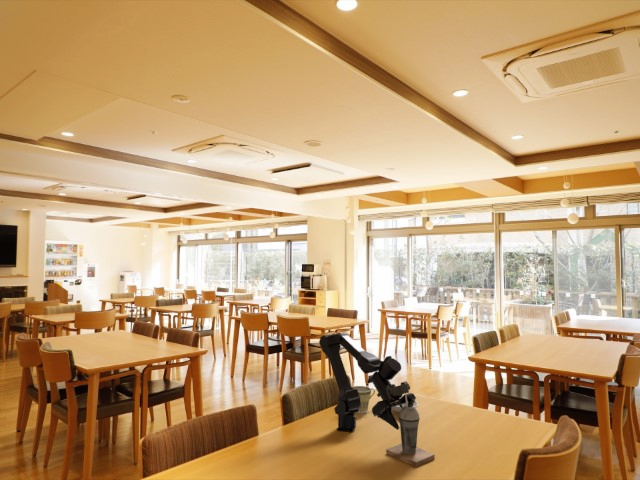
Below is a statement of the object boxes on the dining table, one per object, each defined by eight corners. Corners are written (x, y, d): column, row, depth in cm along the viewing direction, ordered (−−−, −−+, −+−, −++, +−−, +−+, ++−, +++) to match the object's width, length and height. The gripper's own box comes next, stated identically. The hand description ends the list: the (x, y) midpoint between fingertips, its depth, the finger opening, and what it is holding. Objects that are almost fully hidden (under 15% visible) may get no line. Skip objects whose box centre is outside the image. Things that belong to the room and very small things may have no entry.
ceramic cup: (356, 416, 189) (356, 393, 190) (345, 409, 198) (345, 387, 199) (380, 411, 195) (380, 389, 196) (368, 405, 204) (368, 384, 205)
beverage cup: (423, 455, 146) (422, 395, 147) (402, 457, 145) (402, 396, 146) (415, 447, 153) (414, 389, 155) (395, 448, 152) (395, 390, 153)
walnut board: (386, 453, 151) (386, 449, 151) (404, 446, 157) (404, 442, 157) (416, 467, 141) (416, 462, 141) (434, 458, 147) (434, 454, 147)
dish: (426, 417, 189) (426, 405, 189) (398, 421, 183) (398, 409, 184) (403, 405, 205) (403, 394, 206) (377, 408, 200) (377, 397, 200)
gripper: (378, 378, 150) (402, 419, 141) (412, 370, 162) (436, 408, 153) (361, 395, 156) (384, 436, 146) (396, 387, 167) (418, 424, 158)
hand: (407, 426), depth 151 cm, fingers open, 9 cm apart
